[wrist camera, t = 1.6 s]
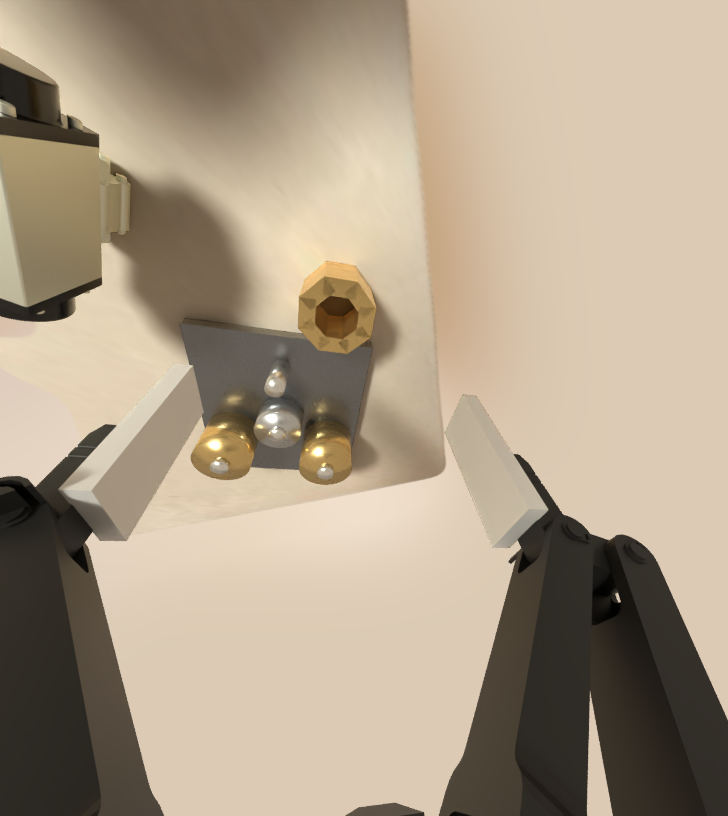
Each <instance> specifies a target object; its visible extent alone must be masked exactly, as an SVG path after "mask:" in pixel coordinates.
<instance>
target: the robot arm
mask: <svg viewBox="0 0 728 816" xmlns="http://www.w3.org/2000/svg"><path fill="white" fill-rule="evenodd" d="M203 412H204V411H203V407H202V403H201V398H200V394H199V390H198V385H197V381H196V377H195V372H194V368H193V365H186V364H176V363H174V364H173V365H172V366H171V368H170V369H169V370H168V371H167V372H166V373H165V374H164V375H163V376H162V377H161V378H160V379H159V381H158V382H157V383H156V384H155V385H154V386H153V387H152V388H151V389H150V390H149V391H148V392H147V394H146V395H145V396H144V397H143V398H142V399H141V400H140V401H139V402H138V403H137V404H136V405H135V407H134V408H133V409H132V410H131V411H130V412H129V413H128V414H127V415H126V416H125V417H124V418H123V420H122V421H121V422H120V423H119V424H118V425H107V424H105V425H103V426H102V427H100V428H98V429H97V430H95V431H93V432H91V433H90V434H88V435H87V436H86V437H85V438H84V439H83V440H82V441H81V442H80V443H79V444H78V447H75V448H74V450H72V451H71V452H70V453H69V455H68V457H65V459H63V460H62V462H60V464H58V465H57V466H56V467H55V468H54V469H53V470H52V472H50V473H49V474H48V475H47V476H46V477H45V478H44V479H43V480H42V481H41V482H40V483H39V484H38V485H37V486H36V487H34V486H33V484H32V483H31V482H30V481H29V480H28V479H26V478H23V477H20V476H11V477H3V478H0V816H164V814H163V812H162V810H161V807H160V805H159V804H158V802H157V800H156V799H155V797H154V796H153V794H152V792H151V789H150V786H149V783H148V779H147V775H146V771H145V768H144V764H143V760H142V756H141V752H140V748H139V744H138V740H137V736H136V732H135V728H134V725H133V721H132V717H131V713H130V709H129V705H128V701H127V697H126V694H125V689H124V685H123V682H122V678H121V674H120V670H119V666H118V662H117V658H116V654H115V650H114V646H113V642H112V638H111V635H110V631H109V627H108V623H107V619H106V615H105V611H104V607H103V604H102V599H101V596H100V592H99V588H98V584H97V580H96V576H95V572H94V568H93V565H92V560H91V556H90V553H89V549H88V546H87V545H86V544H85V541H86V540H87V539H88V537H89V536H90V534H91V533H92V532H93V533H94V534H95V535H96V536H97V537H98V539H99V540H100V541H127V539H128V538H129V536H130V534H131V533H132V531H133V529H134V528H135V526H136V524H137V523H138V521H139V519H140V518H141V516H142V514H143V513H144V511H145V509H146V508H147V506H148V504H149V503H150V501H151V499H152V498H153V496H154V494H155V493H156V491H157V489H158V488H159V486H160V484H161V483H162V481H163V479H164V478H165V476H166V474H167V473H168V471H169V469H170V468H171V466H172V464H173V463H174V461H175V459H176V458H177V456H178V454H179V453H180V451H181V449H182V447H183V446H184V444H185V442H186V441H187V439H188V437H189V436H190V434H191V432H192V431H193V429H194V427H195V426H196V424H197V422H198V421H199V419H200V417H201V416H202V414H203ZM445 434H446V437H447V439H448V442H449V444H450V446H451V449H452V451H453V453H454V456H455V458H456V461H457V463H458V466H459V468H460V470H461V473H462V475H463V477H464V480H465V482H466V485H467V487H468V489H469V492H470V495H471V497H472V499H473V502H474V504H475V506H476V509H477V511H478V514H479V516H480V519H481V521H482V523H483V526H484V528H485V530H486V533H487V535H488V538H489V540H490V543H491V545H492V547H495V548H510V547H511V546H512V545H513V544H514V543H515V542H516V541H517V540H518V542H519V544H520V546H521V549H520V550H519V551H518V552H517V553H516V554H515V555H514V556H513V557H512V558H510V560H509V563H512V562H513V561H515V560H516V561H515V565H514V569H513V572H512V576H511V580H510V584H509V588H508V591H507V595H506V599H505V602H504V606H503V610H502V614H501V617H500V621H499V625H498V628H497V632H496V636H495V640H494V643H493V648H492V651H491V655H490V658H489V662H488V666H487V670H486V673H485V677H484V681H483V685H482V688H481V692H480V696H479V700H478V703H477V707H476V711H475V715H474V718H473V722H472V726H471V730H470V733H469V737H468V741H467V744H466V748H465V751H464V755H463V757H462V759H461V761H460V763H459V764H458V766H457V767H456V769H455V770H454V772H453V774H452V776H451V778H450V780H449V783H448V786H447V789H446V792H445V796H444V799H443V803H442V806H441V810H440V814H439V816H587V780H588V779H587V778H588V776H587V775H588V739H589V702H590V692H591V698H592V703H593V708H594V714H595V720H596V725H597V731H598V736H599V741H600V747H601V752H602V758H603V763H604V769H605V774H606V779H607V785H608V791H609V796H610V802H611V807H612V813H613V816H728V720H727V717H726V715H725V713H724V711H723V709H722V706H721V704H720V702H719V700H718V697H717V695H716V693H715V691H714V688H713V686H712V684H711V682H710V680H709V677H708V675H707V673H706V670H705V668H704V666H703V664H702V662H701V659H700V657H699V655H698V652H697V650H696V648H695V646H694V644H693V641H692V639H691V637H690V635H689V632H688V630H687V628H686V626H685V623H684V621H683V619H682V617H681V615H680V612H679V610H678V608H677V606H676V603H675V601H674V599H673V596H672V594H671V592H670V590H669V587H668V585H667V583H666V581H665V578H664V576H663V574H662V572H661V569H660V567H659V565H658V563H657V561H656V559H655V558H654V556H653V555H652V553H651V552H650V551H649V550H648V549H647V548H646V547H645V546H644V545H642V544H641V543H640V542H638V541H637V540H635V539H633V538H631V537H629V536H626V535H616V536H615V537H614V538H612V539H611V540H607V539H604V538H601V537H598V536H595V535H592V534H590V533H589V532H588V530H587V529H586V528H585V527H584V526H583V525H582V524H581V523H579V522H578V521H576V520H575V519H573V518H571V517H568V516H565V515H563V514H562V512H561V511H560V510H559V508H558V506H557V505H556V504H555V502H554V500H553V499H552V498H551V496H550V495H549V493H548V492H547V490H546V489H545V487H544V486H543V484H541V481H540V480H539V478H538V477H537V476H536V475H535V472H534V471H533V469H532V468H531V466H530V465H529V463H528V462H526V461H525V460H524V459H523V458H522V457H521V456H520V455H518V454H513V453H512V451H511V450H510V448H509V447H508V445H507V444H506V442H505V440H504V439H503V437H502V436H501V434H500V433H499V431H498V429H497V428H496V426H495V425H494V423H493V421H492V420H491V418H490V417H489V415H488V414H487V412H486V410H485V409H484V407H483V406H482V404H481V403H480V401H479V399H478V398H477V396H472V395H462V397H461V399H460V402H459V404H458V406H457V408H456V410H455V412H454V414H453V416H452V418H451V420H450V423H449V425H448V427H447V429H446V431H445ZM616 593H618V594H619V597H620V600H621V602H620V603H618V601H617V599H616V596H615V594H616ZM346 816H424V812H421V811H418V810H415V809H412V808H409V807H406V806H403V805H400V804H397V803H389V804H382V805H374V806H367V807H359V808H357V809H355V810H354V811H353V812H351V813H349V814H347V815H346Z"/></svg>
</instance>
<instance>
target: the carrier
mask: <svg viewBox="0 0 728 816" xmlns="http://www.w3.org/2000/svg"><path fill="white" fill-rule="evenodd" d="M179 324H180V328H181V332H182V336H183V340H184V344H185V348H186V352H187V356H188V361H189V365H193V368H194V372H195V377H196V381H197V385H198V390H199V394H200V398H201V403H202V407H203V411H204V412H203V414H202V418H203V422H204V426H205V430H204V432H203V434H202V435H201V437H200V439H199V441H198V443H197V445H196V446H195V448H194V450H193V452H192V454H191V461H192V464H193V465H194V467H195V468H196V469H197V470H198V471H200V472H201V473H203V474H205V475H207V476H209V477H212V478H216V479H221V480H233V479H238V478H241V477H243V476H244V475H246V474H247V473H248V472H249V470H250V467H258V468H276V469H294V470H299V471H300V473H301V475H302V476H303V477H304V478H305V479H306V480H308V481H310V482H313V483H316V484H322V485H329V484H335V483H338V482H341V481H343V480H345V479H346V478H347V477H348V476H349V475H350V473H351V470H352V461H351V448H352V443H353V438H354V433H355V428H356V424H357V419H358V414H359V409H360V404H361V400H362V395H363V390H364V385H365V380H366V375H367V371H368V366H369V361H370V356H371V351H372V344H371V343H370V342H364V343H362V344H361V345H359V346H358V347H356V348H355V349H354V350H352V351H351V352H349V353H348V354H345V353H336V352H328V351H320V350H318V349H317V348H316V347H315V346H314V345H313V344H312V343H311V342H310V341H309V339H308V338H307V337H306V336H305V335H304V334H301V333H293V332H286V331H278V330H270V329H263V328H255V327H247V326H240V325H232V324H224V323H217V322H209V321H201V320H194V319H186V318H185V319H184V320H183V321H182V322H180V323H179Z"/></svg>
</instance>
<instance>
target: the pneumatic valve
mask: <svg viewBox="0 0 728 816" xmlns="http://www.w3.org/2000/svg"><path fill="white" fill-rule="evenodd" d="M130 188H131V184H130V183H128V181H127V177H125V176H124V175H121V174H119V173H116V176H113V175H112V174H110V159H109V158H108V157H107V156H105V155H104V154H102V153H100V152H99V134H97V133H95V132H94V131H92V130H90V129H88V128H87V127H85V126H83V125H82V122H81V121H80V120H79V119H77V118H75V117H73V116H70V115H67V116H65V115H63V114H61V108H60V95H59V86H58V84H57V83H56V82H55V81H54V80H53V79H52V78H50V77H49V76H48V75H46V74H45V73H43V72H42V71H40V70H39V69H37V68H35V67H34V66H32V65H31V64H29V63H27V62H25V61H24V60H22V59H20V58H19V57H17V56H15V55H13V54H12V53H10V52H8V51H6V50H4V49H2V48H1V47H0V316H1V317H5V318H9V319H15V320H21V321H32V322H48V321H56V320H61V319H65V318H67V317H69V316H71V315H72V314H73V313H74V312H75V310H76V304H75V297H76V296H78V295H80V294H82V293H90V290H92V289H94V288H96V287H98V286H101V285H102V258H101V243H108V242H110V232H118V234H120V235H123V234H125V232H126V231H128V230H129V219H130Z"/></svg>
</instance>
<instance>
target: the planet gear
mask: <svg viewBox="0 0 728 816" xmlns="http://www.w3.org/2000/svg"><path fill="white" fill-rule="evenodd" d="M329 296H336V297H342V298H348V299H349V300H350V301H351V303H352V304H353V305H354V309H352V310H351V311H350V312H348V313H347V314H346V315H344V316H343V317H340V316H333V315H328V314H327V313H326V312H325V310H324V309H323V308H322V307H321V305H320V303H321V302H322V301H324V300H325V299H326V298H328V297H329ZM375 313H376V305H375V302H374V298H373V295H372V291H371V289H370V287H369V286H368V284H367V283H366V281H365V280H364V278H363V277H362V275H361V274H360V272H359V271H358V269H357V268H356V266H353V265H347V264H342V263H336V262H330V261H326V262H325V263H324V264H323V265H321V266H320V267H319V268H318V269H317V270H315V271H314V272H313V273H312V274H311V275H310V276H308V277H307V278H306V279H305V281H304V284H303V287H302V290H301V293H300V295H299V314H298V329H299V330H300V331H301V332H302V333H303V334H304V335H305V336H306V337H307V338H308V339H309V341H310V342H311V343H312V344H313V345H314V346H315V347H316V348H317V349H318V350H320V351H328V352H336V353H345V354H348V353H349V352H351V351H352V350H354V349H355V348H356V347H358V346H359V345H361V344H362V343H364V342H365V341H367V340H368V339H370V338H371V334H372V328H373V323H374V318H375Z"/></svg>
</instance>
